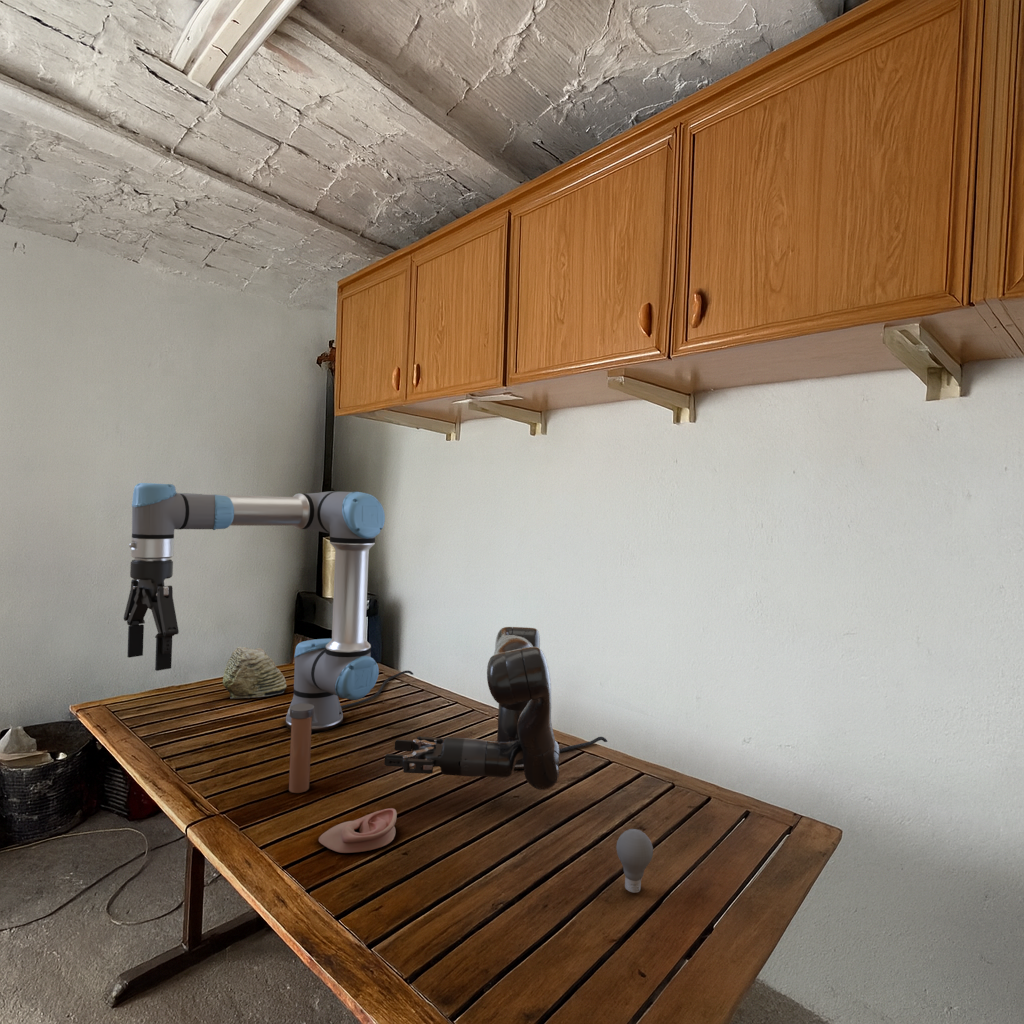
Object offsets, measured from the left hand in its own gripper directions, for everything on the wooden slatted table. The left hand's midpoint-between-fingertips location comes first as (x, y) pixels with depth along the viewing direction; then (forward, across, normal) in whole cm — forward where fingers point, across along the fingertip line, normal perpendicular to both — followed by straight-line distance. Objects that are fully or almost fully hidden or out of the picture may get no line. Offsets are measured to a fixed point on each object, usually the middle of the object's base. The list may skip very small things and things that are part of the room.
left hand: (148, 662), depth 129 cm
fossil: (+28, -47, +50) cm, 74 cm away
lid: (+11, +18, +24) cm, 32 cm away
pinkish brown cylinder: (+28, +18, +24) cm, 41 cm away
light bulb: (+28, +90, +41) cm, 103 cm away
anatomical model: (+28, +44, +20) cm, 56 cm away
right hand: (+19, +35, +35) cm, 53 cm away
